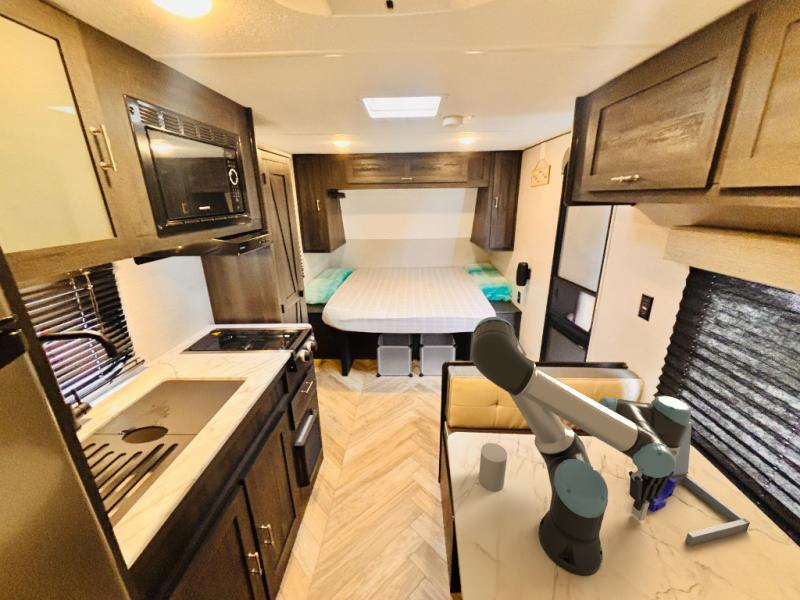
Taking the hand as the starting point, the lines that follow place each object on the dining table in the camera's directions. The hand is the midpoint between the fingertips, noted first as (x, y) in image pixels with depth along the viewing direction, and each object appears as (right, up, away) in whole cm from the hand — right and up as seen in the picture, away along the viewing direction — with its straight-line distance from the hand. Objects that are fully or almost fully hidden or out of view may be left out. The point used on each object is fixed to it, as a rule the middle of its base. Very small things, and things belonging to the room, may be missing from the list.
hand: (637, 516), depth 90 cm
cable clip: (+11, 0, +6) cm, 13 cm away
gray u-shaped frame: (+17, 0, +3) cm, 17 cm away
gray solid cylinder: (-39, +2, +13) cm, 41 cm away
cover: (+21, +15, +9) cm, 27 cm away
